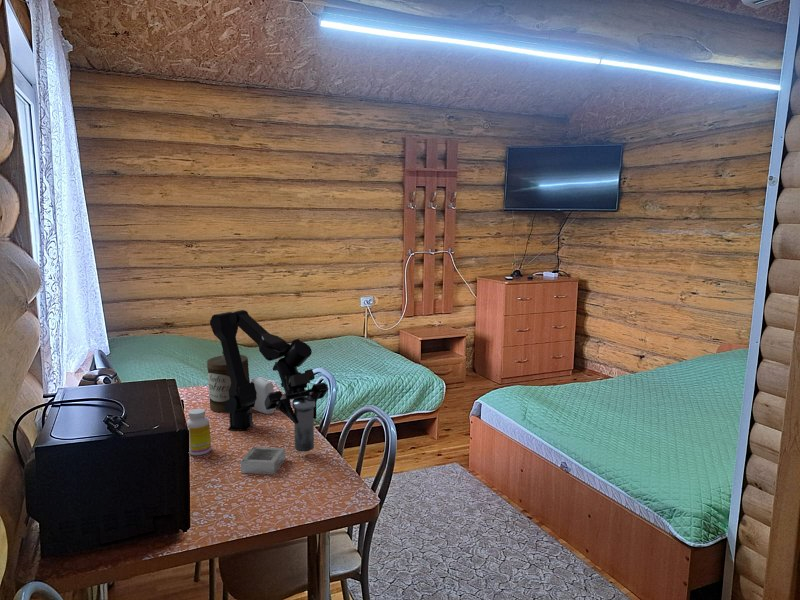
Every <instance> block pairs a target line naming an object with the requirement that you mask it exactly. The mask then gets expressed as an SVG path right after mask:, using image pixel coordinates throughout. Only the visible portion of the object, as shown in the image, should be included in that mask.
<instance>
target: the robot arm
mask: <svg viewBox="0 0 800 600" xmlns="http://www.w3.org/2000/svg"><path fill="white" fill-rule="evenodd" d="M209 325H210V328H211V331H212V332H213V335H214V336H215V337H216V338H217V339H218V340H219V341H220V344H221V348H222V351H223V352H224V354H223V355H224V356H225V360H226V364H227V368H228V372H229V376H230V380H231V385H230V389H229V400H228V401H227V403H226V404H225V405H224V408H225V412H228V414H229V425H230V426H229V427H228V428H227V429H228V431H247V430H249V428H251V427H252V426H253V425H254V422H253V412H252V411H251V410H252V407H254V405H255V401H256V399H257V396H256V394H257V392H256V390H255V384H254V383H253V382H252V383H251V381H250V382H249V381H248V380H247V379H246V376H245V372H244V368H243V364H242V360H241V356H240V355H241V353H240V349H239V345H238V341H237V335H238V330H239V328H240V329H241V330H242V331H243V332H244V333H245V334H246V335H247V336H248V337H250V340H251V339H252V340H253V342H254V343H255V344H257V347H258V351H259V352H260V353H261V355H262V356H263V358H264V359H265V360H267V361H268V362H269V361H274V360H277V359H278V360H277V361H275V362H274V365H273V367H272V371H276V372H277V373H278V375H279V378H280V382H281V383H280V387H281V388H283V390H284V393H283V392H282V391H281V390H277V391H274V392H271V393H269V394H268V395H267V397H266V400H265V402H264V403H265V407H266V409H267V410H269V409H274V408H275V410H276V411H280V412H281V413H283V415H285V416H286V417H287V418H288V419H289V420H290V421H292V422H293V424H294V423H295V424H296V423H297V420H296V416H295V414H294V408H293V407H292V404H291V400H292V401H293V400H294V399H296V398H300V397H310V398H313V399H315V407H314V420H316V419H317V402H318V400H320V399H323V398H324V397H325V396H326V394H327V393H328V390H329V387H328V384H327V383H326V382H319V383H314V384H313V385H312V387H311V388H310V389H307V387H308V384H311V381H313V380H315V372H314V371H313V369H312V368H311V369H306V370H304V372H301V371H299V370H298V368H300V367H301V366H302V365H303V364H305V362H306V361H307V360H308V358H310V356H311V355H312V348H311V346H310V345H309V344H307V343H306V342H304V341H301V340H300V338H295V339H294V340H292V341H291V343H288V342H287V341H286V340H285V339H283V338H282V337H280V336H279V335H276V334H272V333H270V332H268V331H267V330H266V329H265V328H264V327H263V326H262V325H260V324H259V323H258V322H257V321H256V320H255V319H254V318H253V317H252V316H251V315H249V312H248V311H247V310H244V309H240V310H235V311H226V312H221V313H216V314H213V315H212V316H211V319H210V320H209Z"/></svg>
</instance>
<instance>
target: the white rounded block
mask: <svg viewBox="0 0 800 600" xmlns="http://www.w3.org/2000/svg"><path fill="white" fill-rule="evenodd" d="M252 382H253V383H254V384H255V390H256V392H257V394H256V396H257V399H256V401H255V405H254V407H252V408H251V410H254V411H257V412H259V413H263V414H267V415H272V414H273V413H274V412H275V410H276V408H274V409H269V410H267V409H266V407H265V403H264V402H265V400H266V397H267V395H268V394H269V393H271V392H275V391H274V384H273V383H272V381H270V380H269V379H267V378H265V377H258V376H257V377H254V378H251V381H250V383H252Z"/></svg>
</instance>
